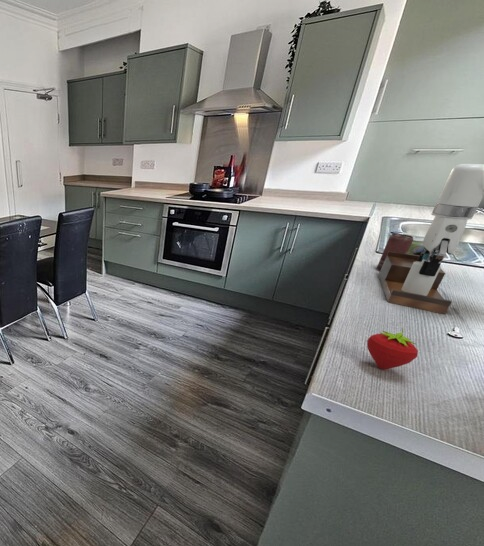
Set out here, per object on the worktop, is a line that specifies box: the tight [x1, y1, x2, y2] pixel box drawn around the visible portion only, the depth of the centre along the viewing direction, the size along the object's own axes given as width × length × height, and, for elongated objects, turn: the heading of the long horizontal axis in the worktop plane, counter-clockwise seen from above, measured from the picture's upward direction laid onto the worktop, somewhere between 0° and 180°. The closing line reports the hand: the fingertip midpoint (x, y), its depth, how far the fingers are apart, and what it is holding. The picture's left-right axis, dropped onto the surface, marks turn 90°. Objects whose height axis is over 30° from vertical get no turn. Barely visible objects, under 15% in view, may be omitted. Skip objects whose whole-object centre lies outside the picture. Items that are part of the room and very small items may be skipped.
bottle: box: [402, 254, 442, 296], centre depth 93 cm, size 6×6×12 cm
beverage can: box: [407, 237, 425, 256], centre depth 117 cm, size 6×7×12 cm
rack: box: [378, 251, 453, 315], centre depth 98 cm, size 12×26×10 cm, turn 142°
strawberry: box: [366, 327, 419, 371], centre depth 64 cm, size 6×8×10 cm
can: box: [376, 232, 414, 272], centre depth 115 cm, size 6×6×14 cm
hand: (424, 271), depth 92 cm, fingers closed on bottle, 5 cm apart
